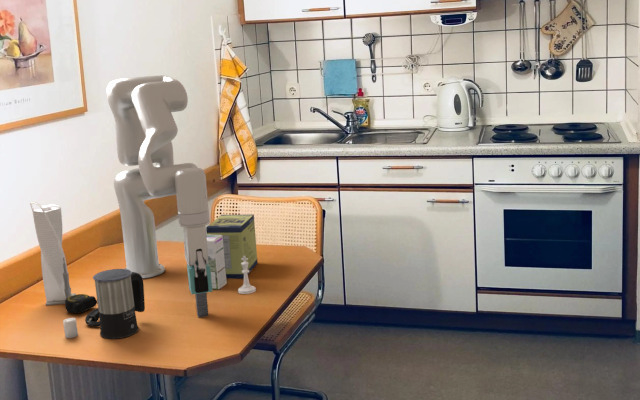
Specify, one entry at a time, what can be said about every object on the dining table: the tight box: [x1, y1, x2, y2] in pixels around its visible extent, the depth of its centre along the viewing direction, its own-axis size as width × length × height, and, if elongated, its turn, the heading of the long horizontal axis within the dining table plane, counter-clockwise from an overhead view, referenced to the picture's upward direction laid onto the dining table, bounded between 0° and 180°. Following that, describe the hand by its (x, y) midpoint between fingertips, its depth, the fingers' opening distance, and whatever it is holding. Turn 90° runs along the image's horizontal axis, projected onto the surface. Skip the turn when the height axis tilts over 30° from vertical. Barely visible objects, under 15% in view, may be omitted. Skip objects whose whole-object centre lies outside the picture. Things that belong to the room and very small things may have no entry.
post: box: [194, 293, 210, 318], centre depth 206 cm, size 3×3×7 cm
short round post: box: [62, 317, 79, 339], centre depth 197 cm, size 3×3×4 cm
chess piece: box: [237, 256, 257, 295], centre depth 222 cm, size 5×5×10 cm
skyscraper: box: [29, 201, 77, 306], centre depth 222 cm, size 8×8×28 cm
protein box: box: [205, 214, 258, 280], centre depth 241 cm, size 10×16×16 cm
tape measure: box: [64, 293, 98, 314], centre depth 215 cm, size 7×7×4 cm
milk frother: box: [84, 268, 146, 340], centre depth 200 cm, size 14×16×15 cm
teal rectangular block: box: [186, 262, 213, 295], centre depth 204 cm, size 5×5×7 cm
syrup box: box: [206, 234, 228, 290], centre depth 227 cm, size 6×6×14 cm
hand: (200, 287), depth 205 cm, fingers closed on teal rectangular block, 5 cm apart
